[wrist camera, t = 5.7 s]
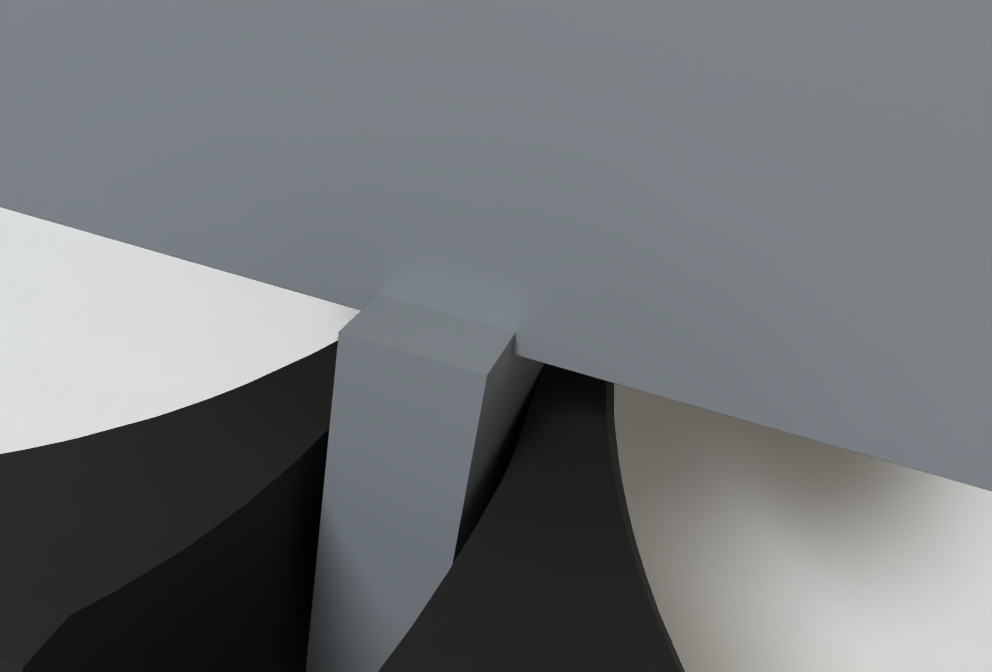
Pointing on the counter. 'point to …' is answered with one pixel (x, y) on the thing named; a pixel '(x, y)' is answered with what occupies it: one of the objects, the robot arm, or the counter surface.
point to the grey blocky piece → (542, 223)
